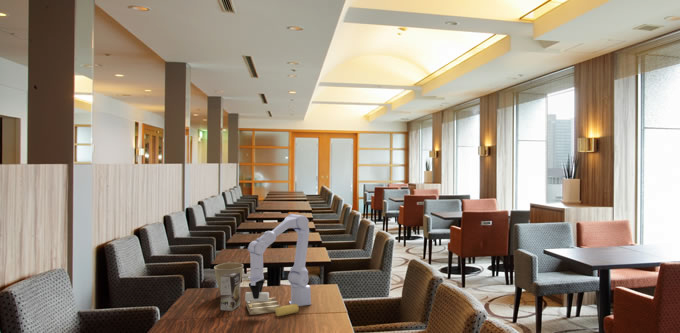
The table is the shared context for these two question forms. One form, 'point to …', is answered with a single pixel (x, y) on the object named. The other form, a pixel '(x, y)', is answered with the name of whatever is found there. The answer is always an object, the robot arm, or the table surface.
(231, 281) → the coffee box
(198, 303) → the table surface
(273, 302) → the rack
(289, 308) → the pale yellow cylinder
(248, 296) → the tall white tube
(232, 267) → the plant pot
